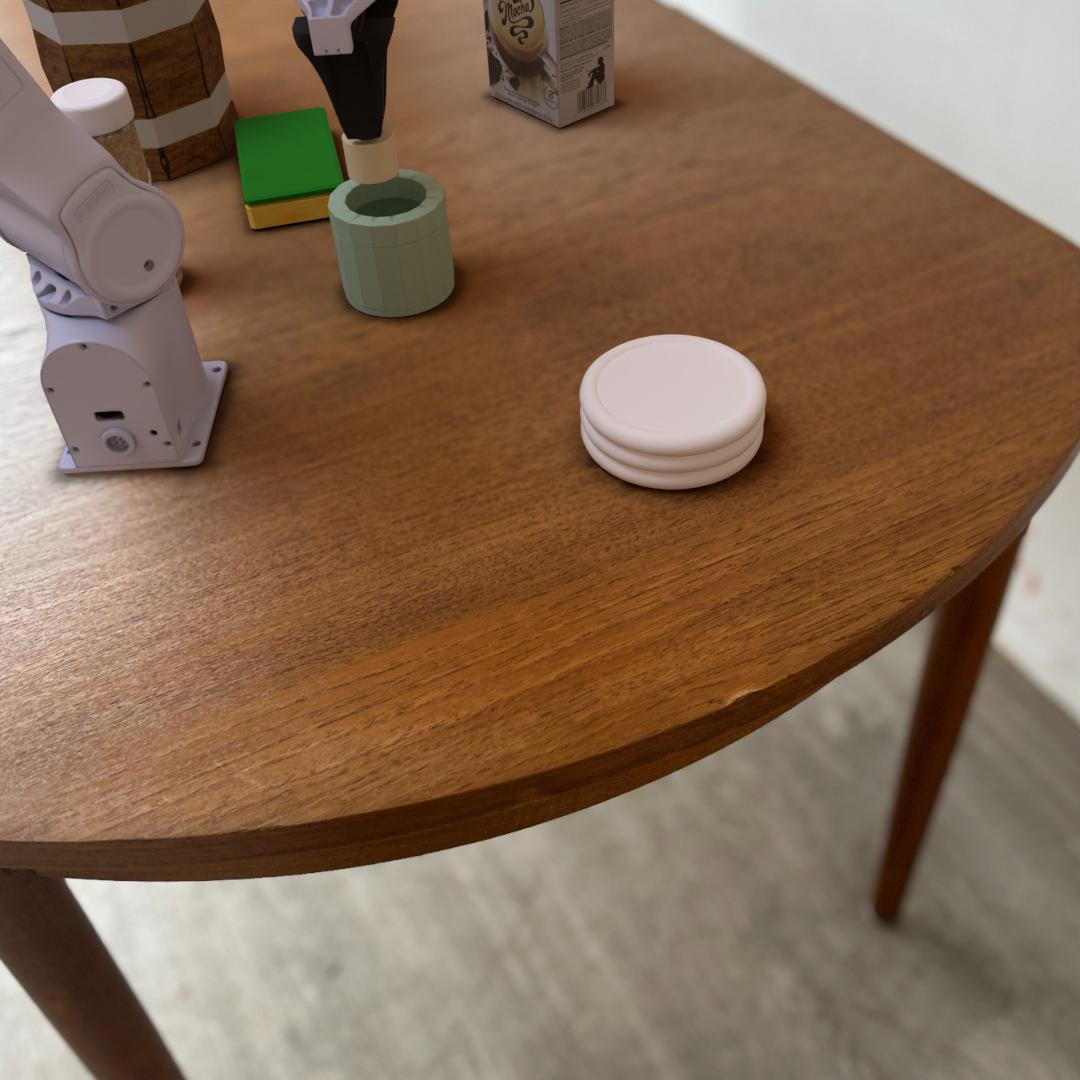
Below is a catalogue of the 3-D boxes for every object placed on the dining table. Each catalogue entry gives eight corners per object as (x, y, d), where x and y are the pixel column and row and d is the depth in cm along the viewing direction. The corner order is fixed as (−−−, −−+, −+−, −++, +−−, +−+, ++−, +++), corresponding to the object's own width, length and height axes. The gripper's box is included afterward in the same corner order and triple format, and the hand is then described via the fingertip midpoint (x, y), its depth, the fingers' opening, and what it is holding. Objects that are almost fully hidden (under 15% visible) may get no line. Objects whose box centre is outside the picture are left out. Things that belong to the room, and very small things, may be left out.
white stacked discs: (562, 397, 69) (559, 347, 66) (726, 367, 70) (730, 317, 68) (608, 510, 62) (607, 458, 59) (790, 474, 63) (796, 422, 61)
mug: (256, 161, 93) (209, -43, 82) (79, 198, 90) (6, -8, 79) (219, 68, 106) (173, -117, 96) (64, 98, 103) (0, -90, 93)
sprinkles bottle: (194, 289, 80) (136, 92, 70) (128, 313, 78) (60, 114, 69) (170, 261, 82) (111, 68, 73) (106, 283, 81) (37, 88, 71)
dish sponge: (329, 134, 95) (324, 104, 94) (350, 215, 86) (344, 184, 84) (240, 147, 94) (233, 118, 93) (251, 231, 85) (243, 200, 83)
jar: (453, 313, 76) (442, 221, 71) (340, 320, 76) (322, 229, 71) (455, 254, 81) (445, 165, 76) (350, 261, 81) (333, 172, 77)
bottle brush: (397, 182, 73) (370, -3, 65) (346, 186, 73) (312, 1, 66) (401, 158, 75) (375, -24, 68) (350, 161, 75) (319, -20, 68)
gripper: (392, -81, 57) (426, 180, 67) (408, -162, 68) (436, 74, 77) (247, -72, 58) (301, 188, 67) (286, -154, 68) (328, 80, 77)
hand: (365, 127), depth 72 cm, fingers closed on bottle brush, 2 cm apart
